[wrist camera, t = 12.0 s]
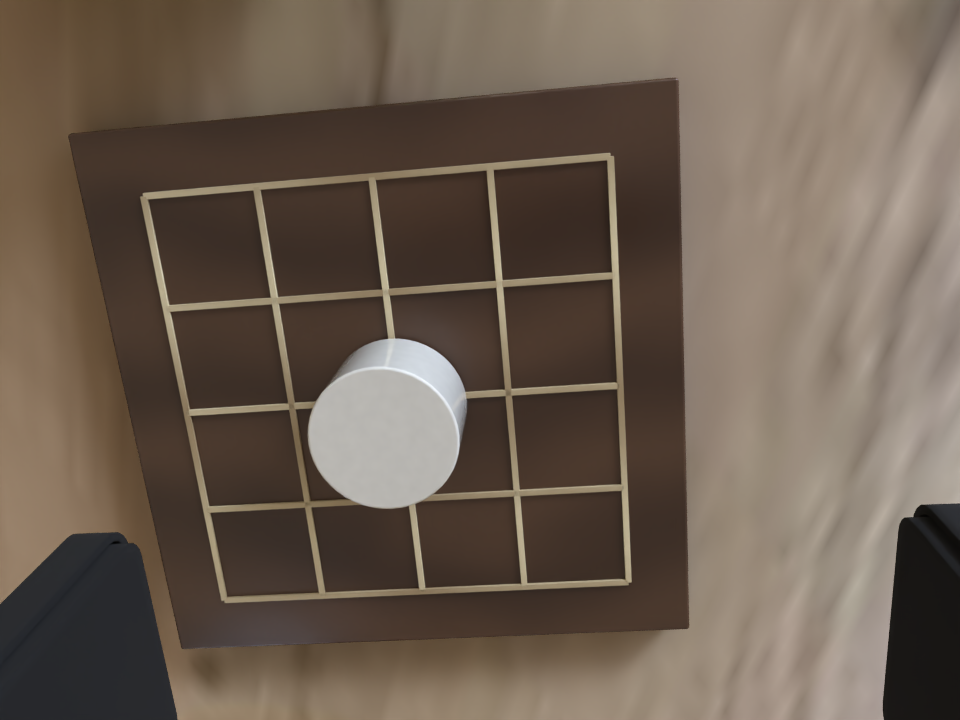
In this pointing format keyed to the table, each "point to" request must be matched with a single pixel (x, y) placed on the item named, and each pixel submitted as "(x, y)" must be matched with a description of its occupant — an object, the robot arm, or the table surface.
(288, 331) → the board
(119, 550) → the robot arm
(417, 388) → the white round puck
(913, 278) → the table surface
